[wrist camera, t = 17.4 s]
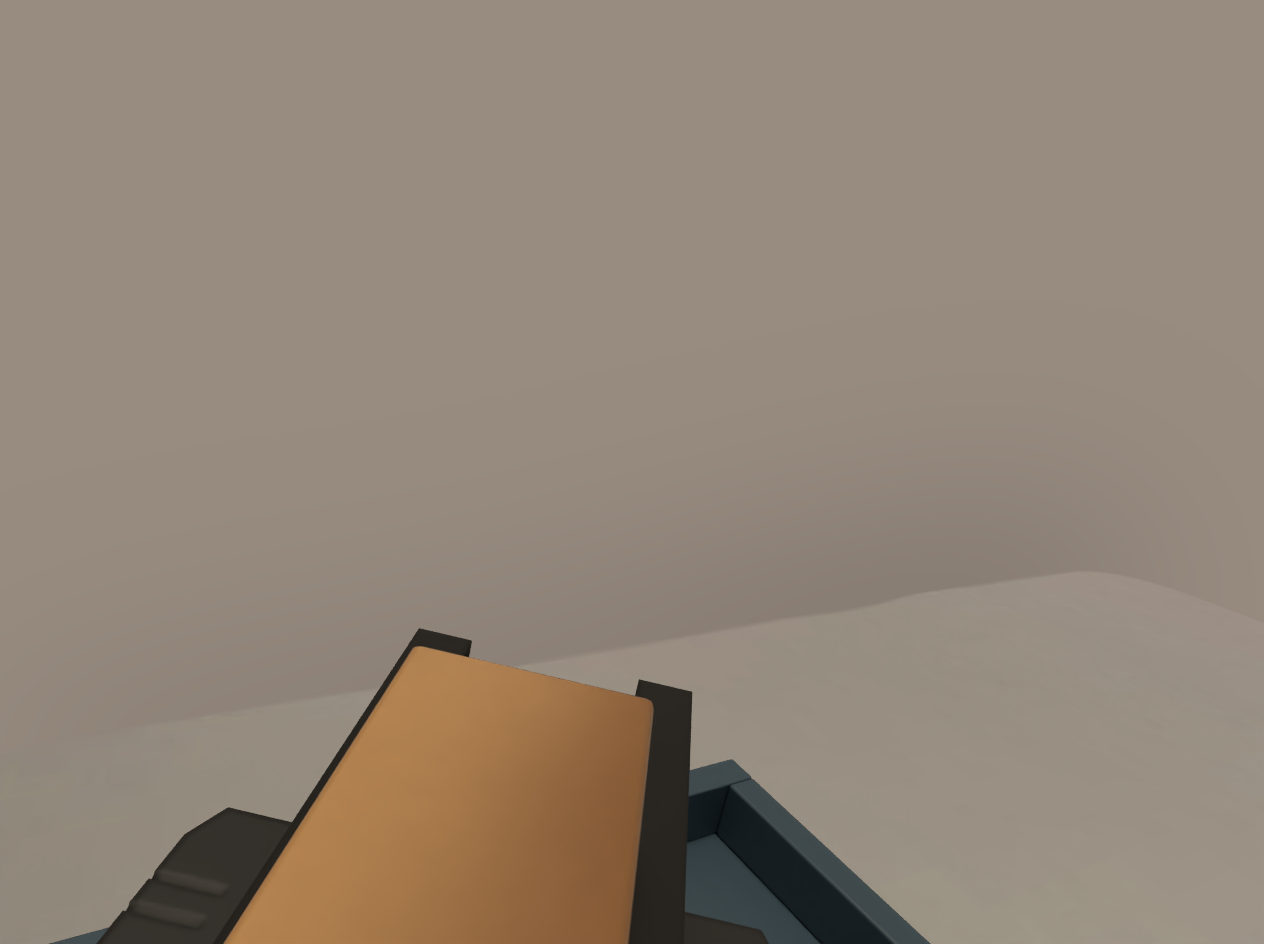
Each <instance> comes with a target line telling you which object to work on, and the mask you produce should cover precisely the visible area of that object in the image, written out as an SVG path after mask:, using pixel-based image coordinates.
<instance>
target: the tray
mask: <svg viewBox="0 0 1264 944" xmlns="http://www.w3.org/2000/svg"><path fill="white" fill-rule="evenodd" d="M685 912H688V913H692V914H697V915H701V916H705V917H709V918H713V919H718V920H722V921H726V922H730V923H735V924H739V925H743V926H747V927H752V928H756V929H760V930H762V932H763V934H764V935H765V937H766V939H767V941H768V943H769V944H930V943H929V942H928V941H927V940H926V939H925V938H924V937H922V936H921V935H920V934H919V933H918V932H917V931H916V930H915V929H914V928H913V927H912V926H911V925H910V924H908V923H907V922H906V921H905V920H904V919H903V918H902V917H901V916H900V915H899V914H898V913H897V912H896V911H894V910H893V909H892V908H891V907H890V906H889V905H888V904H887V903H886V902H885V901H884V900H883V899H882V898H880V897H879V896H878V895H877V894H876V893H875V892H874V891H873V890H872V889H871V888H870V887H869V886H868V885H866V884H865V883H864V882H863V881H862V880H861V879H860V878H859V877H858V876H857V875H856V874H855V873H854V872H853V871H851V870H850V869H849V868H848V867H847V866H846V865H845V864H844V863H843V862H842V861H841V860H840V859H839V858H837V857H836V856H835V855H834V854H833V853H832V852H831V851H830V850H829V849H828V848H827V847H826V846H825V845H823V844H822V843H821V842H820V841H819V840H818V839H817V838H816V837H815V836H814V835H813V834H812V833H811V832H809V831H808V830H807V829H806V828H805V827H804V826H803V825H802V824H801V823H800V822H799V821H798V820H797V819H795V818H794V817H793V816H792V815H791V814H790V813H789V812H788V811H787V810H786V809H785V808H784V807H783V806H781V805H780V804H779V803H778V802H777V801H776V800H775V799H774V798H773V797H772V796H771V795H770V794H769V793H767V792H766V791H765V790H764V789H763V788H762V787H761V786H760V785H759V784H758V783H757V782H756V781H755V780H753V779H751V776H750V775H749V774H748V773H747V772H745V771H744V770H743V769H742V768H741V767H740V766H739V765H738V764H737V763H736V762H735V761H734V760H732V759H731V760H727V761H723V762H719V763H716V764H712V765H708V766H705V767H701V768H697V769H694V770H690V772H689V801H688V831H687V860H686V890H685ZM107 930H108V928H106V929H102V930H98V931H95V932H91V933H87V934H84V935H80V936H76V937H72V938H69V939H65V940H61V941H58V942H54V943H50V944H96V943H97V942H98V941H99V940H100V938H101V937H102V936H103V935H104V933H105V932H106V931H107Z"/></svg>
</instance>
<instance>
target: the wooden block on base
mask: <svg viewBox="0 0 1264 944" xmlns="http://www.w3.org/2000/svg"><path fill="white" fill-rule="evenodd" d="M653 712H654V709H653V704H652V702H651V701H650V700H648V699H646V698H641V697H637V696H633V695H629V694H624V693H620V692H616V691H611V690H607V689H603V688H599V687H594V686H590V685H586V684H581V683H577V682H573V681H569V680H564V679H560V678H556V677H551V676H547V675H543V674H539V673H534V672H530V671H526V670H521V669H517V668H513V667H509V666H504V665H500V664H496V663H491V662H487V661H483V660H478V659H474V658H470V657H466V656H461V655H457V654H453V653H448V652H444V651H440V650H436V649H431V648H427V647H423V646H418V647H414V648H413V649H412V651H411V652H410V653H409V655H408V657H407V658H406V660H405V661H404V663H403V664H402V666H401V667H400V669H399V671H398V672H397V674H396V675H395V677H394V678H393V680H392V682H391V683H390V685H389V686H388V688H387V689H386V691H385V692H384V694H383V696H382V697H381V699H380V700H379V702H378V703H377V705H376V706H375V708H374V710H373V711H372V713H371V714H370V716H369V717H368V719H367V720H366V722H365V724H364V725H363V727H362V728H361V730H360V731H359V733H358V735H357V736H356V738H355V739H354V741H353V742H352V744H351V745H350V747H349V749H348V750H347V752H346V753H345V755H344V756H343V758H342V759H341V761H340V763H339V764H338V766H337V767H336V769H335V770H334V772H333V774H332V775H331V777H330V778H329V780H328V781H327V783H326V784H325V786H324V788H323V789H322V791H321V792H320V794H319V795H318V797H317V798H316V800H315V802H314V803H313V805H312V806H311V808H310V809H309V811H308V813H307V814H306V816H305V817H304V819H303V820H302V822H301V823H300V825H299V827H298V828H297V830H296V831H295V833H294V834H293V836H292V837H291V839H290V841H289V842H288V844H287V845H286V847H285V848H284V850H283V852H282V853H281V855H280V856H279V858H278V859H277V861H276V862H275V864H274V866H273V867H272V869H271V870H270V872H269V873H268V875H267V876H266V878H265V880H264V881H263V883H262V884H261V886H260V887H259V889H258V891H257V892H256V894H255V895H254V897H253V898H252V900H251V901H250V903H249V905H248V906H247V908H246V909H245V911H244V912H243V914H242V915H241V917H240V919H239V920H238V922H237V923H236V925H235V926H234V928H233V930H232V931H231V933H230V934H229V936H228V937H227V939H226V940H225V942H224V944H629V939H630V930H631V920H632V911H633V902H634V892H635V883H636V873H637V864H638V854H639V845H640V835H641V826H642V816H643V807H644V797H645V788H646V778H647V769H648V759H649V750H650V740H651V731H652V722H653Z"/></svg>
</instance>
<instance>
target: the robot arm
mask: <svg viewBox="0 0 1264 944" xmlns="http://www.w3.org/2000/svg"><path fill="white" fill-rule="evenodd" d="M471 643H472V641H471V640H467V639H463V638H458V637H454V636H450V635H446V634H441V633H437V632H433V631H428V630H424V629H420V628H419V629H418V631H417V632H416V634H415V635H414V637H413V639H412V640H411V641H410V643H409V645H408V647H407V648H406V649H405V651H404V652H403V654H402V655H401V657H400V658H399V660H398V661H397V663H396V664H395V666H394V667H393V669H392V671H391V672H390V674H389V675H388V677H387V678H386V680H385V681H384V683H383V685H382V686H381V687H380V689H379V690H378V692H377V693H376V695H375V696H374V698H373V700H372V701H371V703H370V704H369V706H368V707H367V709H366V710H365V712H364V713H363V715H362V716H361V718H360V719H359V721H358V722H357V724H356V725H355V727H354V729H353V730H352V732H351V733H350V735H349V736H348V738H347V739H346V741H345V742H344V744H343V745H342V747H341V748H340V750H339V751H338V753H337V754H336V756H335V758H334V759H333V761H332V762H331V764H330V765H329V767H328V768H327V770H326V771H325V773H324V774H323V776H322V777H321V779H320V780H319V782H318V783H317V785H316V787H315V788H314V790H313V791H312V793H311V794H310V796H309V797H308V799H307V800H306V802H305V803H304V805H303V806H302V808H301V809H300V811H299V813H298V814H297V816H296V817H295V819H294V820H293V822H288V821H284V820H280V819H275V818H271V817H267V816H263V815H258V814H254V813H250V812H246V811H241V810H237V809H233V808H229V807H228V808H226V809H225V810H223V811H222V812H220V813H218V814H217V815H215V816H213V817H212V818H210V819H209V820H207V821H205V822H204V823H202V824H200V825H199V826H197V827H196V828H194V829H192V830H191V831H189V832H188V833H186V834H184V836H183V837H182V838H181V839H180V841H179V842H178V843H177V844H176V846H175V847H174V848H173V849H172V851H171V852H170V853H169V854H168V855H167V857H166V858H165V859H164V860H163V862H162V863H161V864H160V865H159V867H158V868H157V869H156V870H155V872H154V876H153V878H152V879H148V880H147V881H146V883H145V884H144V885H143V886H142V888H141V889H140V890H139V891H138V893H137V894H136V895H135V896H134V898H133V899H132V900H131V901H130V903H129V906H128V908H127V910H126V911H122V912H121V914H120V915H119V916H118V917H117V919H116V920H115V921H114V922H113V923H112V925H111V926H110V927H109V928H108V930H107V931H106V932H105V933H104V935H103V936H102V937H101V938H100V940H99V941H98V942H97V943H96V944H224V942H225V940H226V939H227V937H228V936H229V934H230V933H231V931H232V930H233V928H234V926H235V925H236V923H237V922H238V920H239V919H240V917H241V915H242V914H243V912H244V911H245V909H246V908H247V906H248V905H249V903H250V901H251V900H252V898H253V897H254V895H255V894H256V892H257V891H258V889H259V887H260V886H261V884H262V883H263V881H264V880H265V878H266V876H267V875H268V873H269V872H270V870H271V869H272V867H273V866H274V864H275V862H276V861H277V859H278V858H279V856H280V855H281V853H282V852H283V850H284V848H285V847H286V845H287V844H288V842H289V841H290V839H291V837H292V836H293V834H294V833H295V831H296V830H297V828H298V827H299V825H300V823H301V822H302V820H303V819H304V817H305V816H306V814H307V813H308V811H309V809H310V808H311V806H312V805H313V803H314V802H315V800H316V798H317V797H318V795H319V794H320V792H321V791H322V789H323V788H324V786H325V784H326V783H327V781H328V780H329V778H330V777H331V775H332V774H333V772H334V770H335V769H336V767H337V766H338V764H339V763H340V761H341V759H342V758H343V756H344V755H345V753H346V752H347V750H348V749H349V747H350V745H351V744H352V742H353V741H354V739H355V738H356V736H357V735H358V733H359V731H360V730H361V728H362V727H363V725H364V724H365V722H366V720H367V719H368V717H369V716H370V714H371V713H372V711H373V710H374V708H375V706H376V705H377V703H378V702H379V700H380V699H381V697H382V696H383V694H384V692H385V691H386V689H387V688H388V686H389V685H390V683H391V682H392V680H393V678H394V677H395V675H396V674H397V672H398V671H399V669H400V667H401V666H402V664H403V663H404V661H405V660H406V658H407V657H408V655H409V653H410V652H411V651H412V649H413V648H414V647H418V646H423V647H427V648H431V649H436V650H440V651H444V652H448V653H453V654H457V655H461V656H466V657H469V654H470V648H471ZM635 696H637V697H641V698H646V699H648V700H650V701H651V702H652V704H653V709H654V712H653V722H652V731H651V740H650V750H649V759H648V769H647V778H646V788H645V797H644V807H643V816H642V826H641V835H640V845H639V854H638V864H637V873H636V883H635V892H634V902H633V911H632V920H631V930H630V939H629V944H769V943H768V941H767V939H766V937H765V935H764V934H763V932H762V930H760V929H756V928H752V927H747V926H743V925H739V924H735V923H730V922H726V921H722V920H718V919H713V918H709V917H705V916H701V915H697V914H692V913H688V912H685V890H686V860H687V831H688V801H689V772H690V742H691V713H692V692H691V691H686V690H682V689H678V688H673V687H669V686H665V685H661V684H656V683H652V682H648V681H643V680H639V682H638V686H637V690H636V694H635Z"/></svg>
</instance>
